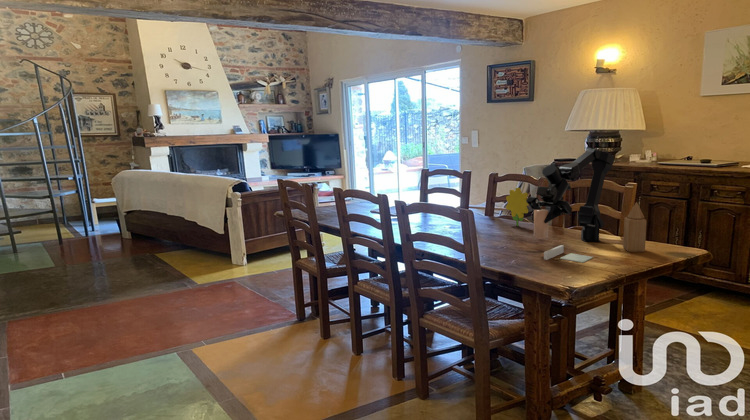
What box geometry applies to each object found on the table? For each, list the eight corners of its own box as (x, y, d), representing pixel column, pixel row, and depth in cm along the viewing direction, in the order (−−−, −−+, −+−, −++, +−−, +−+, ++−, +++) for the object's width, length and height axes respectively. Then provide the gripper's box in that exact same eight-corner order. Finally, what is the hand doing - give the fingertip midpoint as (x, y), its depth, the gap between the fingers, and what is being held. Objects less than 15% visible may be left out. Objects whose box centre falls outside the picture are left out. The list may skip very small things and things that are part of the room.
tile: (570, 254, 195) (570, 253, 195) (593, 257, 189) (593, 256, 189) (559, 258, 189) (559, 257, 189) (582, 262, 183) (582, 261, 183)
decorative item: (530, 227, 247) (530, 188, 244) (528, 228, 246) (528, 189, 243) (507, 223, 260) (507, 186, 257) (505, 223, 260) (506, 186, 256)
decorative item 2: (645, 252, 194) (648, 202, 191) (627, 252, 195) (629, 202, 192) (639, 248, 200) (642, 200, 197) (622, 248, 202) (624, 200, 198)
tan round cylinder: (545, 235, 200) (546, 209, 198) (549, 238, 194) (550, 211, 192) (532, 235, 200) (532, 209, 198) (535, 238, 195) (535, 211, 193)
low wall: (560, 252, 199) (560, 245, 198) (563, 252, 198) (563, 245, 197) (543, 259, 189) (544, 251, 189) (546, 259, 188) (546, 252, 188)
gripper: (529, 177, 203) (510, 206, 199) (568, 180, 187) (549, 212, 183) (541, 194, 208) (523, 222, 204) (580, 198, 193) (562, 229, 189)
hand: (538, 221), depth 195 cm, fingers closed on tan round cylinder, 5 cm apart
